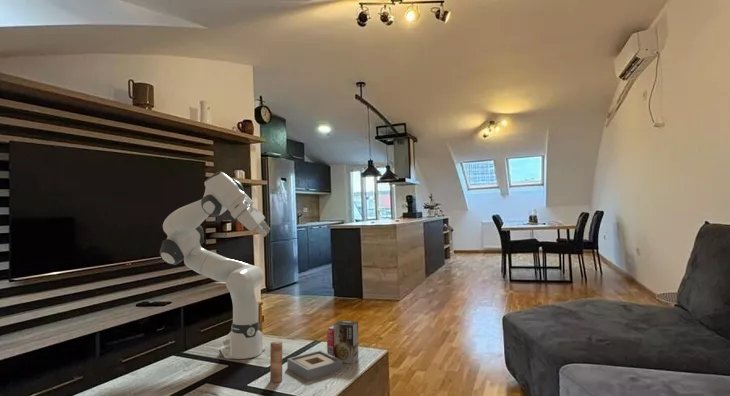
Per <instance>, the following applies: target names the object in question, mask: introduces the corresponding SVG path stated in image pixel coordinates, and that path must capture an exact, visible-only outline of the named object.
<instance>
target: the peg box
mask: <svg viewBox="0 0 730 396" xmlns="http://www.w3.org/2000/svg"><path fill="white" fill-rule="evenodd" d="M286 361H287V364H286V367H287V368H286V369H287V370H289V371H291V372H293V373H294V374H295V375H298V376H299V377H300V378H302V379H303V380H304V379H305V380H306V381H308V382H309V381H312V380H315V379H318V378H321V377H325V376H329V375H331V374H335V373H339V372H342V371H343V363H342V360H340V359H338V358H336V357H334V356H332V355H330V354H328V352H325V351H324V350H321V349H320V350H316V351H313V352H308V353H305V354H300V355H297V356H292V357H289V358H287V360H286Z"/></svg>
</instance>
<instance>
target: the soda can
mask: <svg viewBox="0 0 730 396" xmlns="http://www.w3.org/2000/svg"><path fill="white" fill-rule="evenodd" d="M326 351H327V352H326V353H327V354H330V355H332V356H334V324H333V325H332V324H331V325H329V326H328V329H327V331H326Z"/></svg>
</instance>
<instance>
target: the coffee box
mask: <svg viewBox="0 0 730 396" xmlns="http://www.w3.org/2000/svg"><path fill="white" fill-rule="evenodd" d="M333 325H334V357H336V358H338V359H340V360H342V364H343V363H344V364H351V365H352V364H353V365H354V364H355V363H356V362H357V361H358V360H359V322H358V321H354V320H353V321H352V320H337V322H336V321H335V323H334V324H333Z"/></svg>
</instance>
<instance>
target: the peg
mask: <svg viewBox="0 0 730 396" xmlns="http://www.w3.org/2000/svg"><path fill="white" fill-rule="evenodd" d="M269 348H270V351H269V352H270V355H269V356H270V358H269V359H270V360H269V361H270V362H269V363H270V367H269V368H270V369H269V372H270V373H269V374H270V377H269V378H270V383H272V384H273V383H274V384H277V383H281V382H282V381H283V342H282V341H281V340H279V341H278V340H275V341H272V342H270V347H269Z"/></svg>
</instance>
